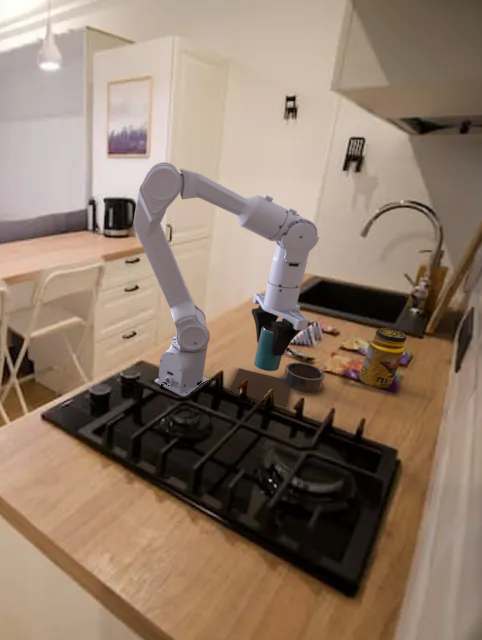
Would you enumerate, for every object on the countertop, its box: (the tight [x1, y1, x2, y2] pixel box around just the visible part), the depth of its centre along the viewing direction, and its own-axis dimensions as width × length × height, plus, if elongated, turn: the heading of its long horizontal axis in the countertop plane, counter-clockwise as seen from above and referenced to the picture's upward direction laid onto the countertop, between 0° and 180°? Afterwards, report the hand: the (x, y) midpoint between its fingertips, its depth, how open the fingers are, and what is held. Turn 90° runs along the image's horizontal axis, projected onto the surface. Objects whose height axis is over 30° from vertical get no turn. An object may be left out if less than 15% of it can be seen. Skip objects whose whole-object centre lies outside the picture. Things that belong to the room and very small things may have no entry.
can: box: [253, 324, 283, 372], centre depth 81 cm, size 5×5×8 cm
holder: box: [282, 361, 326, 393], centre depth 86 cm, size 7×7×4 cm
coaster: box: [228, 368, 291, 408], centre depth 85 cm, size 11×11×1 cm
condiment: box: [358, 327, 407, 389], centre depth 86 cm, size 7×8×12 cm
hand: (269, 348), depth 81 cm, fingers closed on can, 5 cm apart
